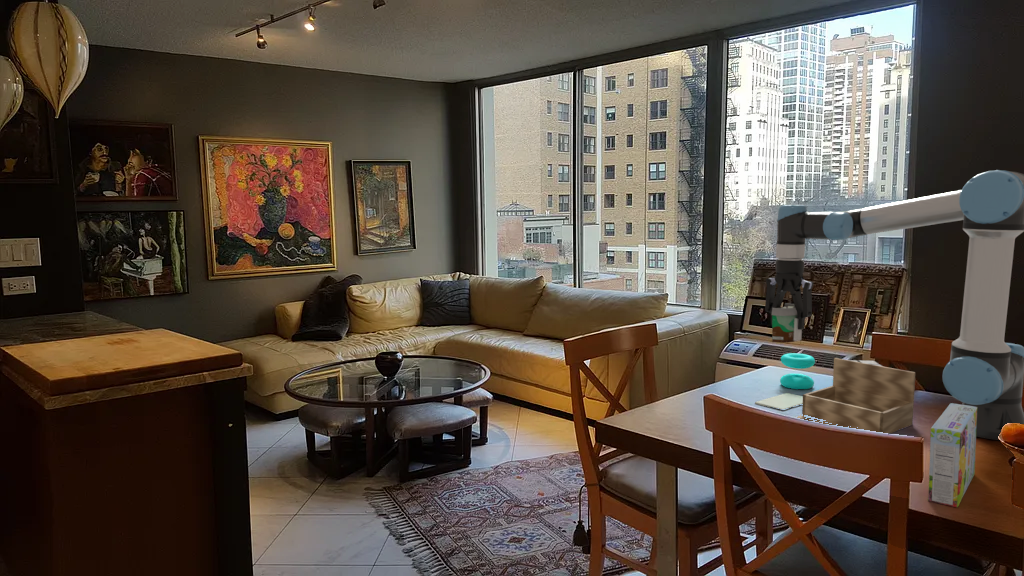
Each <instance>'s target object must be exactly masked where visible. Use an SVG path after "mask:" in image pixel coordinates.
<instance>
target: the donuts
mask: <svg viewBox="0 0 1024 576" xmlns="http://www.w3.org/2000/svg"><path fill="white" fill-rule="evenodd" d="M780 362H781V363H782V365H784V366H785V367H787V368H790V369H800V370H803V369H809V368H812V367H813V366H814V365H815V363H816V360H815V358H814V357H813V356H812V355H809V354H806V353H797V352H796V353H795V352H793V353H792V352H789V353H784V354H783V355H781V357H780ZM779 382H780V385H782V386H783V387H785V388H788V389H790V388H791V389H792V390H798V389H804V390H809V389H812V388H813V387H814V384H815V381H814V379H813V378H812V377H810V376H809V375H806V374H803V373H787V374H784V375H782V376H781V377H780V379H779ZM791 389H790V390H791Z"/></svg>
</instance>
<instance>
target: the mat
mask: <svg viewBox="0 0 1024 576" xmlns="http://www.w3.org/2000/svg"><path fill="white" fill-rule="evenodd" d="M754 404H755V405H759V406H763V407H766V406H767V408H770V407H774V408H779V409H786V408H790V407H793V406H796V405H800V404H803V395H797V394H793V393H789V392H785V393H780V394H779V395H778V394H777V395H774V396H771V397H768V398H765V399H764V398H763V399H760V400H758V401H755V402H754Z"/></svg>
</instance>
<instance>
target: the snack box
mask: <svg viewBox="0 0 1024 576" xmlns="http://www.w3.org/2000/svg"><path fill="white" fill-rule="evenodd" d="M976 423H977V407H974V406H968V405H962V404H959V403H953V402H952V403H951V402H950V403H949V405H948V406H947V407H946V408H945V410H944V411H943V412H942V414H941V415H940V416H939V417H938V419H936V421H935V422H934V424H933V425H932V426H931V427H930V441H929V442H930V444H929V470H928V471H929V473H928V492H927V493H928V495H927V502H931V503H935V504H940V505H945V506H949V507H953V508H959V506H960V503H961V502H962V499H963V498H964V496H965V493H966V492H967V490H968V488H969V486H970V483H971V482H972V480H973V478H974V476H975V475H976V447H977V446H976V445H977V444H976V443H977V436H976Z"/></svg>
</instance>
